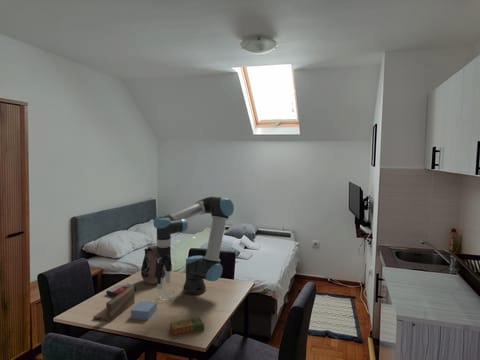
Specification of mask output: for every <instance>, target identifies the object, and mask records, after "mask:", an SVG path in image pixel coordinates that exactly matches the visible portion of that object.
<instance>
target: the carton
mask: <svg viewBox="0 0 480 360" xmlns="http://www.w3.org/2000/svg"><path fill="white" fill-rule="evenodd" d="M169 330H170V332H171V335H172V337H174V338H175V337H179V336H184V335H190V334H195V333H200V332H205V324H204V322H203V320H202V318H201V317H199V316H198V317H194V318H188V319H182V320H176V321H170V323H169Z"/></svg>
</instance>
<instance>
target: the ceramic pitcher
mask: <svg viewBox="0 0 480 360" xmlns="http://www.w3.org/2000/svg"><path fill="white" fill-rule="evenodd" d="M156 259H159V254H157V245H149V246H147V248H144V257H143V261H142V264H141V268H140V273H141V274H140V275H141V278H142V279H143V281H144V282H145V283H147V284H150V285H151V284H152V285H153V284H156V285H157V278H155V271H156ZM161 264H163V263H161ZM165 271H166V269H165V265H164V267H163V272H162V281H163V279H164V280H165Z"/></svg>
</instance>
